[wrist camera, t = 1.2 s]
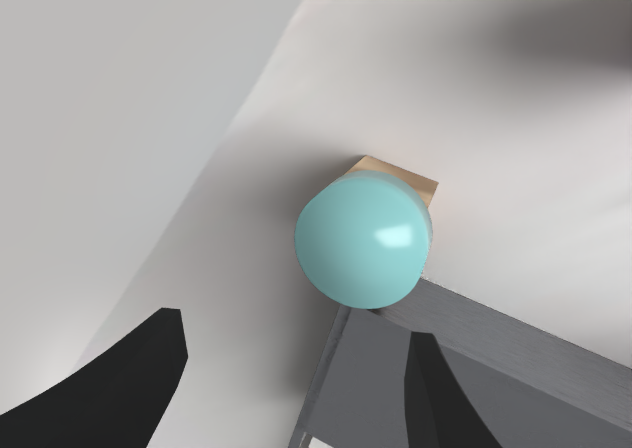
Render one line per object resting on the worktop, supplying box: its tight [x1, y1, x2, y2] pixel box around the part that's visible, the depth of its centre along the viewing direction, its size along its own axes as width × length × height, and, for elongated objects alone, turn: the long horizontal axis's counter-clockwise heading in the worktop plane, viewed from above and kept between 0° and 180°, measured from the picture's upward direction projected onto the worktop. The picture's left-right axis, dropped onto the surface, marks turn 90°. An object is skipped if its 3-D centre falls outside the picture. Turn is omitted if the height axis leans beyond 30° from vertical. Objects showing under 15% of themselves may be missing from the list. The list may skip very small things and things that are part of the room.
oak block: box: [343, 155, 438, 209], centre depth 22 cm, size 4×4×4 cm
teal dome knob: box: [294, 170, 432, 309], centre depth 20 cm, size 6×6×2 cm
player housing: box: [288, 278, 632, 448], centre depth 25 cm, size 15×12×5 cm
